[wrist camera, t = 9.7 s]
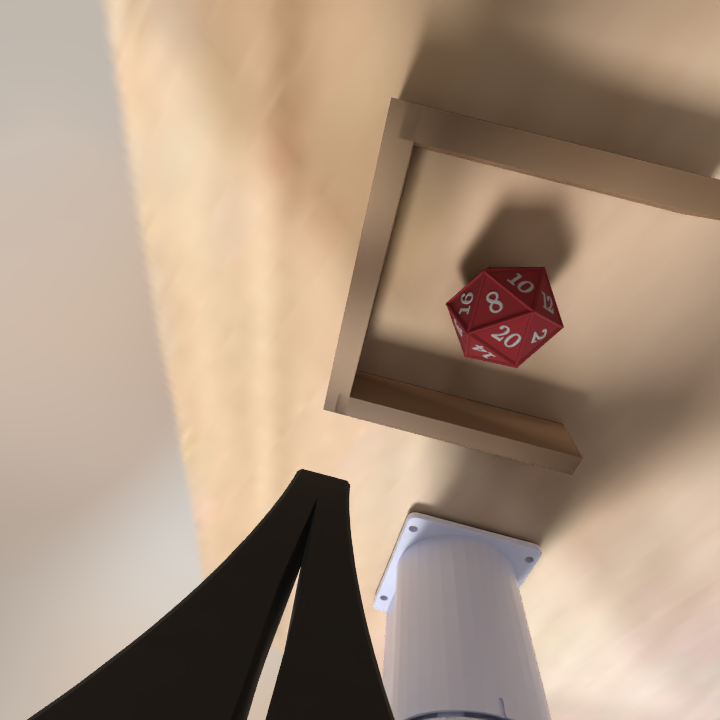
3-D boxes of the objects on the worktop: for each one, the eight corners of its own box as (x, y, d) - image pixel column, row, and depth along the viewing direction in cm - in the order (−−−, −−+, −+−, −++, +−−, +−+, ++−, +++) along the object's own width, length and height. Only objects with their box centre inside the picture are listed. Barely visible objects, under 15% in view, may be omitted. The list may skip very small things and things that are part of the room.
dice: (426, 315, 17) (429, 352, 14) (493, 229, 16) (517, 247, 12) (491, 359, 18) (510, 406, 14) (564, 281, 16) (607, 313, 13)
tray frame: (553, 439, 19) (572, 474, 17) (333, 382, 20) (323, 409, 17) (702, 185, 14) (756, 189, 12) (395, 108, 14) (391, 97, 12)
